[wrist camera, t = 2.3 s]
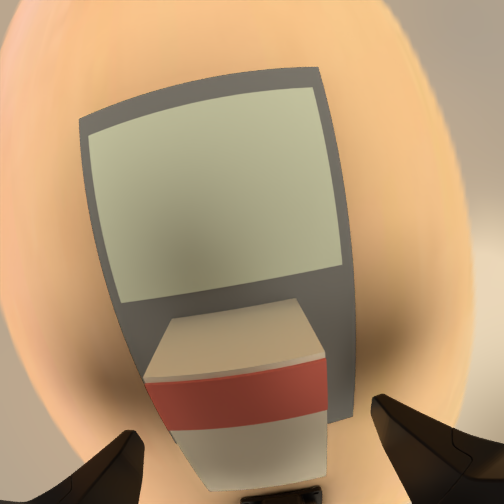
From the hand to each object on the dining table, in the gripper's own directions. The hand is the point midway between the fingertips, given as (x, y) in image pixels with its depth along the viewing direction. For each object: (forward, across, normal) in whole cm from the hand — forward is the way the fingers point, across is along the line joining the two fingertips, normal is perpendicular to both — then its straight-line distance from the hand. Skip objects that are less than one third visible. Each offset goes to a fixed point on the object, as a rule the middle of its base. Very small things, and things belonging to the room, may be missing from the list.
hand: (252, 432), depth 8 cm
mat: (+4, 0, -4) cm, 6 cm away
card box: (+3, 0, 0) cm, 3 cm away
